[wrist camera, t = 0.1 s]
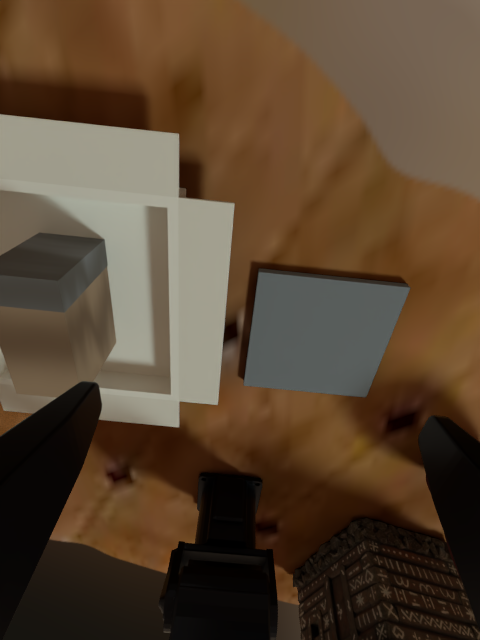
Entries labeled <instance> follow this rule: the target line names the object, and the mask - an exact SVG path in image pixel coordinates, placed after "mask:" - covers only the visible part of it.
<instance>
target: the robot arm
mask: <svg viewBox="0 0 480 640" xmlns="http://www.w3.org/2000/svg"><path fill="white" fill-rule="evenodd" d="M101 410H102V401H101V395H100V389H99V385H98V383H96V382H90V381H81V382H79V383H78V384H76V385H75V386H73V387H72V388H70V389H69V390H67V391H66V392H64V393H63V394H61V395H60V396H58V397H57V398H56V399H54V400H53V401H51V402H50V403H48V404H47V405H45V406H44V407H42V408H41V409H39V410H38V411H36V412H35V413H33V414H32V415H31V416H29V417H28V418H26V419H25V420H23V421H22V422H20V423H19V424H17V425H16V426H14V427H13V428H11V429H10V430H8V431H7V432H6V433H4V434H3V435H1V436H0V640H2V639H3V637H4V635H5V633H6V631H7V629H8V626H9V624H10V622H11V620H12V618H13V616H14V614H15V611H16V609H17V607H18V605H19V603H20V601H21V599H22V596H23V594H24V592H25V590H26V588H27V586H28V583H29V581H30V579H31V577H32V574H33V572H34V571H35V568H36V566H37V564H38V562H39V560H40V558H41V555H42V553H43V551H44V549H45V547H46V545H47V542H48V540H49V538H50V536H51V534H52V532H53V530H54V527H55V525H56V523H57V521H58V519H59V517H60V515H61V512H62V510H63V508H64V506H65V504H66V502H67V499H68V497H69V495H70V493H71V491H72V489H73V487H74V484H75V482H76V480H77V478H78V476H79V473H80V471H81V469H82V467H83V464H84V461H85V458H86V456H87V453H88V450H89V447H90V444H91V441H92V438H93V435H94V432H95V429H96V426H97V423H98V420H99V417H100V414H101ZM418 443H419V448H420V452H421V456H422V460H423V464H424V468H425V472H426V476H427V480H428V484H429V488H430V492H431V495H432V499H433V502H434V505H435V508H436V511H437V513H438V516H439V519H440V522H441V525H442V527H443V530H444V533H445V536H446V539H447V541H448V544H449V547H450V550H451V553H452V555H453V558H454V561H455V564H456V567H457V569H458V572H459V575H460V578H461V581H462V583H463V586H464V589H465V592H466V594H467V597H468V600H469V603H470V606H471V608H472V611H473V614H474V617H475V620H476V622H477V625H478V628H479V631H480V442H478V441H477V440H476V439H475V438H473V437H472V436H471V435H469V434H468V433H467V432H466V431H464V430H463V429H462V428H461V427H459V426H458V425H457V424H456V423H454V422H453V421H452V420H451V419H449V418H448V417H444V416H431V417H429V418H428V420H427V422H426V423H425V425H424V427H423V429H422V431H421V432H420V434H419V438H418ZM261 489H262V479H260V478H254V477H243V476H233V475H222V474H211V473H201V474H200V475H199V482H198V502H197V510H198V511H199V517H198V525H197V532H196V539H195V544H192V543H185V542H182V541H179V544H178V548H177V549H174V550H172V552H171V557H170V562H169V567H168V572H167V576H166V579H165V582H164V586H163V589H162V593H161V596H160V601H159V607H160V609H161V611H162V613H163V620H164V628H163V629H164V632H165V633H170V639H169V640H276V634H277V620H278V604H277V589H276V579H275V569H274V559H273V550H272V549H266V550H261V549H255V515H256V512H257V507H258V503H259V498H260V494H261Z"/></svg>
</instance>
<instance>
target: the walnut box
mask: <svg viewBox="0 0 480 640" xmlns="http://www.w3.org/2000/svg"><path fill="white" fill-rule="evenodd" d="M107 266H108V263H107V255H106V247H105V239H97V238H88V237H78V236H69V235H59V234H50V233H40V232H39V233H38V234H36V235H34V236H33V237H31V238H29V239H28V240H26V241H24V242H22V243H21V244H19V245H17V246H16V247H14V248H12V249H11V250H9V251H7V252H6V253H4V254H2V255H1V256H0V348H1V351H2V353H3V356H4V359H5V362H6V365H7V368H8V371H9V373H10V376H11V379H12V382H13V385H14V388H15V391H16V393H17V394H24V395H34V396H45V397H55V398H57V397H58V396H60V395H61V394H63V393H64V392H66V391H67V390H69V389H70V388H72V387H73V386H75V385H76V384H78V383H79V382H81V381H90V382H93V381H94V380H95V378H96V376H97V375H98V373H99V371H100V370H101V368H102V366H103V364H104V363H105V361H106V359H107V358H108V356H109V354H110V353H111V351H112V349H113V347H114V346H115V344H116V335H115V326H114V318H113V310H112V302H111V294H110V286H109V277H108V269H107Z"/></svg>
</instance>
